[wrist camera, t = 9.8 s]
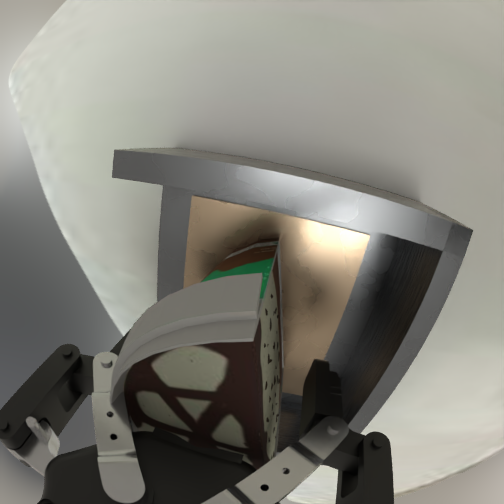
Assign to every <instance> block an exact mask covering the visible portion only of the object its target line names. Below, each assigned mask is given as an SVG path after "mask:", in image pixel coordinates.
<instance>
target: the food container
mask: <svg viewBox="0 0 504 504" xmlns="http://www.w3.org/2000/svg"><path fill="white" fill-rule="evenodd" d="M283 372H284V350H283V312H282V284H281V261H280V240H279V238H276V239H267V240H259V241H256V242H254V243H251V244H249V245H246V246H244V247H242V248H239V249H237V250H234V251H233V252H232V253H231V254H229V255H228V256H227V257H226V258H225V259H224V260H223V261H221V262H220V263H219V264H218V265H217V266H216V267H215V268H214V269H213V270H212V271H211V272H210V273H209V274H208V275H207V276H206V277H205V278H204V279H203V280H202V281H201V282H200V283H196V284H193V285H191V286H189V287H186V288H184V289H181V290H179V291H177V292H174V293H172V294H170V295H168V296H166V297H165V298H163V299H162V300H160V301H159V302H157V303H156V304H154V305H153V306H151V307H150V308H148V309H147V310H146V311H145V313H144V314H143V315H142V316H141V317H140V318H139V319H138V320H137V321H136V322H135V323H134V325H133V327H132V328H131V330H130V332H129V334H128V336H127V338H126V340H125V342H124V344H123V347H122V349H121V351H120V354H119V356H118V358H117V361H116V363H115V366H114V369H113V374H112V379H111V392H110V398H109V399H110V403H113V402H114V401H115V399H116V398H117V397H118V396H119V394H120V393H121V392H123V391H124V395H125V399H126V402H127V406H128V410H129V414H130V417H131V421H132V425H133V428H134V432H136V431H151V432H153V430H154V429H155V427H157V428H160V429H162V430H165V431H168V432H170V433H173V434H176V435H177V436H179V437H181V438H182V439H184V440H185V441H187V442H189V443H190V444H192V445H194V446H196V447H201V448H213V449H223V450H226V451H230V452H234V453H238V454H243V455H244V456H243V459H242V460H243V461H245V462H247V463H249V464H251V465H252V466H253V467H255V468H256V469H257V470H258V469H260V468H261V467H262V466H264V465H265V464H266V463H268V462H269V461H271V460H272V459H273V458H274V457H276V454H277V444H278V434H279V423H280V412H281V399H282V386H283Z"/></svg>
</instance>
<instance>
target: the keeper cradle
mask: <svg viewBox="0 0 504 504" xmlns="http://www.w3.org/2000/svg"><path fill="white" fill-rule="evenodd" d="M112 178H119V179H127V180H134V181H140V182H147V183H153V184H160V185H163V193H162V204H161V216H160V231H159V250H158V283H157V302H159V301H160V300H162V299H163V298H165V297H166V296H168V295H170V294H172V293H174V292H177V291H179V290H181V289H184V288H186V287H189V286H191V285H193V284H196V283H200V282H201V281H202V280H203V279H204V278H205V277H206V276H207V275H208V274H209V273H210V272H211V271H212V270H213V269H214V268H215V267H216V266H217V265H218V264H219V263H220V262H221V261H223V260H224V259H225V258H226V257H227V256H228V255H229V254H231V253H232V252H233V251H234V250H237V249H239V248H242V247H244V246H246V245H249V244H251V243H254V242H256V241H259V240H267V239H276V238H279V240H280V261H281V284H282V312H283V350H284V372H283V386H282V399H281V412H280V423H279V434H278V444H277V454H276V456H277V455H278V454H280V453H281V452H282V451H283V450H285V449H286V448H287V447H288V446H290V445H291V444H293V443H297V442H298V441H299V440H300V439H299V430H300V420H301V408H302V396H303V386H304V382H305V379H306V376H307V374H308V372H309V370H310V367H311V365H312V363H313V360H314V359H315V358H316V359H321V360H327V361H329V365H330V371H332V372H336V373H337V374H338V376H339V378H340V380H341V391H342V394H341V396H342V407H343V420H344V421H345V422H346V423H347V424H348V427H349V429H351V430H352V431H354V432H357V433H359V434H360V433H361V432H362V431H363V430H364V428H365V427H366V426H367V425H368V424H369V422H370V421H371V420H372V419H373V417H374V416H375V415H376V414H377V412H378V411H379V410H380V409H381V407H382V406H383V405H384V403H385V402H386V401H387V399H388V398H389V396H390V395H391V394H392V392H393V391H394V389H395V388H396V387H397V385H398V384H399V382H400V381H401V379H402V378H403V376H404V375H405V373H406V372H407V370H408V369H409V367H410V365H411V364H412V362H413V361H414V359H415V357H416V356H417V354H418V352H419V351H420V349H421V347H422V346H423V344H424V342H425V340H426V338H427V337H428V335H429V333H430V331H431V329H432V327H433V326H434V324H435V322H436V320H437V318H438V316H439V314H440V312H441V310H442V308H443V306H444V303H445V301H446V299H447V297H448V295H449V293H450V290H451V288H452V286H453V283H454V281H455V279H456V276H457V274H458V271H459V269H460V266H461V264H462V261H463V258H464V256H465V253H466V250H467V247H468V244H469V241H470V238H471V235H472V232H473V230H472V229H470V228H468V227H467V226H465V225H463V224H461V223H460V222H458V221H456V220H454V219H452V218H450V217H448V216H447V215H445V214H443V213H441V212H439V211H437V210H435V209H433V208H431V207H429V206H427V205H425V204H423V203H421V202H418V201H415V200H412V199H409V198H406V197H403V196H400V195H397V194H394V193H391V192H387V191H384V190H381V189H378V188H374V187H371V186H367V185H364V184H360V183H357V182H353V181H349V180H346V179H342V178H338V177H334V176H330V175H326V174H322V173H318V172H314V171H309V170H305V169H301V168H296V167H291V166H287V165H282V164H277V163H272V162H267V161H262V160H256V159H251V158H245V157H239V156H233V155H226V154H220V153H213V152H206V151H198V150H190V149H182V148H140V149H119V150H114V160H113V172H112ZM321 465H325V464H321Z"/></svg>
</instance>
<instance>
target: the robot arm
mask: <svg viewBox="0 0 504 504" xmlns="http://www.w3.org/2000/svg"><path fill="white" fill-rule="evenodd" d="M130 330H131V329H130ZM130 330H129V331H128V332H127V333H126V335H125V336H124V337H123V338H122V339H121V340H120V341H119V342H118V343H117V344H116V345H115V347H114V348H113V349H112V350H111V351H110V352H102V353H99V354H97V355H96V356H95V357H93V356H88V355H82V354H80V351H79V349H78V347H76V346H75V345H72V344H65V345H62V346H60V347H59V348H57V349H56V351H55V352H54V353H53V354H52V355H51V356H50V357H49V358H48V359H47V360H46V361H45V362H44V363H43V364H42V365H41V366H40V367H39V368H38V369H37V370H36V371H35V372H34V373H33V375H31V377H29V379H28V380H27V381H26V382H25V383H24V384H23V385H22V386H21V387H20V388H19V389H18V391H17V392H16V393H15V394H14V395H13V396H12V397H11V398H10V400H9V401H8V402H7V403H6V404H5V405H4V406H3V408H2V409H1V410H0V440H1V442H2V443H3V445H4V446H5V447H6V448H7V449H8V450H9V451H10V452H11V453H12V454H13V455H14V456H15V457H16V458H18V459H19V460H20V461H21V462H22V463H23V464H24V465H26V466H28V467H33V468H34V469H35V470H36V471H38V472H39V473H40V474H42V475H43V476H44V478H45V479H44V480H45V481H44V490H43V495H42V498H41V500H40V501H39V502H38V503H37V504H280V503H279V502H280V501H281V500H282V499H284V498H285V497H286V496H287V495H288V494H290V493H291V492H292V491H293V490H294V489H295V488H296V487H297V486H299V485H300V484H301V483H302V482H303V481H304V480H305V479H306V478H307V477H308V476H310V475H311V474H312V473H313V472H314V471H315V470H316V469H317V468H318V467H319V466H320V465H321V464H325V465H327V466H330V467H332V468H335V469H338V483H337V495H336V504H394V489H393V471H392V457H391V447H390V441H389V439H388V438H387V436H385V435H384V434H382V433H380V432H371V433H369V434H367V435H366V436H365V435H362V434H359V433H357V432H354V431H352V430H351V429H349V427H348V424H347V423H346V422H345V421H344V420H343V407H342V396H341V394H342V391H341V380H340V378H339V376H338V374H337V373H336V372H332V371H330V365H329V361H327V360H321V359H316V358H315V359H314V360H313V363H312V365H311V367H310V370H309V372H308V374H307V376H306V379H305V382H304V386H303V396H302V408H301V420H300V430H299V439H300V440H299V441H298V442H297V443H293V444H291V445H290V446H288V447H287V448H286V449H285V450H283V451H282V452H281V453H280V454H278V455H277V456H276V457H274V458H273V459H272V460H271V461H269V462H268V463H266V464H265V465H264V466H262V467H261V468H260V469H258V470H257V469H256V468H255V467H253V466H252V465H251V464H249V463H247V462H245V461H243V460H242V459H243V456H244V455H243V454H238V453H234V452H230V451H226V450H223V449H213V448H201V447H196V446H194V445H192V444H190V443H189V442H187V441H185V440H184V439H182V438H181V437H179V436H177V435H176V434H173V433H170V432H168V431H165V430H162V429H160V428H157V427H155V429H154V430H153V432H151V431H136V432H134V428H133V425H132V421H131V417H130V414H129V410H128V406H127V402H126V399H125V395H124V391H123V392H121V393H120V394H119V396H118V397H117V398H116V399H115V401H114V402H113V403H110V399H109V398H110V392H111V379H112V374H113V369H114V366H115V363H116V361H117V358H118V356H119V354H120V351H121V349H122V347H123V344H124V342H125V340H126V338H127V336H128V334H129V332H130ZM88 395H92V406H93V416H94V427H95V435H96V443H97V444H96V445H92V446H89V447H86V448H82V449H79V450H76V451H72V452H68V453H65V454H61V455H58V456H57V453H58V449H59V446H60V442H59V439H58V436H59V434H60V433H61V432H62V430H63V429H64V427H65V426H66V424H67V423H68V421H69V420H70V419H71V417H72V416H73V415H74V413H75V412H76V410H77V409H78V408H79V406H80V405H81V404H82V402H83V401H84V399H85V398H86V397H87V396H88Z"/></svg>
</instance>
